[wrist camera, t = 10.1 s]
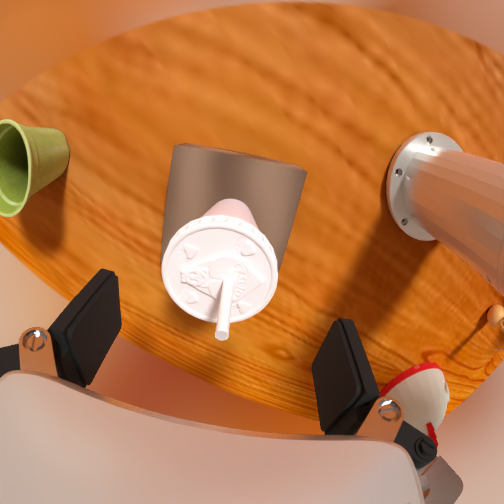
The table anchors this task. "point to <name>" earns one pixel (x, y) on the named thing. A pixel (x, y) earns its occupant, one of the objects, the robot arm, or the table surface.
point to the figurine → (496, 318)
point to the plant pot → (28, 163)
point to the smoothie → (221, 266)
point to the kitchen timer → (421, 396)
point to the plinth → (232, 190)
